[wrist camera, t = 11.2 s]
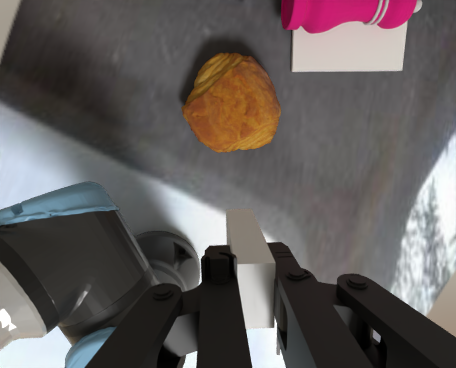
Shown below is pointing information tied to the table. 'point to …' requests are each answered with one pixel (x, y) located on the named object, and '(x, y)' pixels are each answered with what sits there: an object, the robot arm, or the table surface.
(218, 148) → the croissant
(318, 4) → the pepper mill
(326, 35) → the white mat
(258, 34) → the table surface
